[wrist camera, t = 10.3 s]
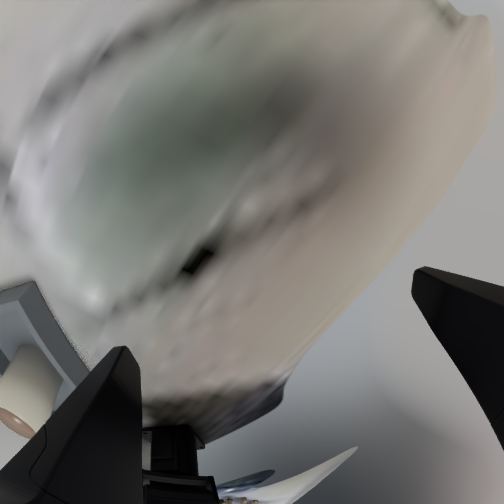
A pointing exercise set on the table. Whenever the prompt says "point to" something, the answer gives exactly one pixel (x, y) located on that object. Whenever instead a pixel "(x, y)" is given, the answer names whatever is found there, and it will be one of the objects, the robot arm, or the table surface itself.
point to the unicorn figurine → (244, 501)
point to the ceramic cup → (28, 391)
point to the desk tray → (37, 336)
